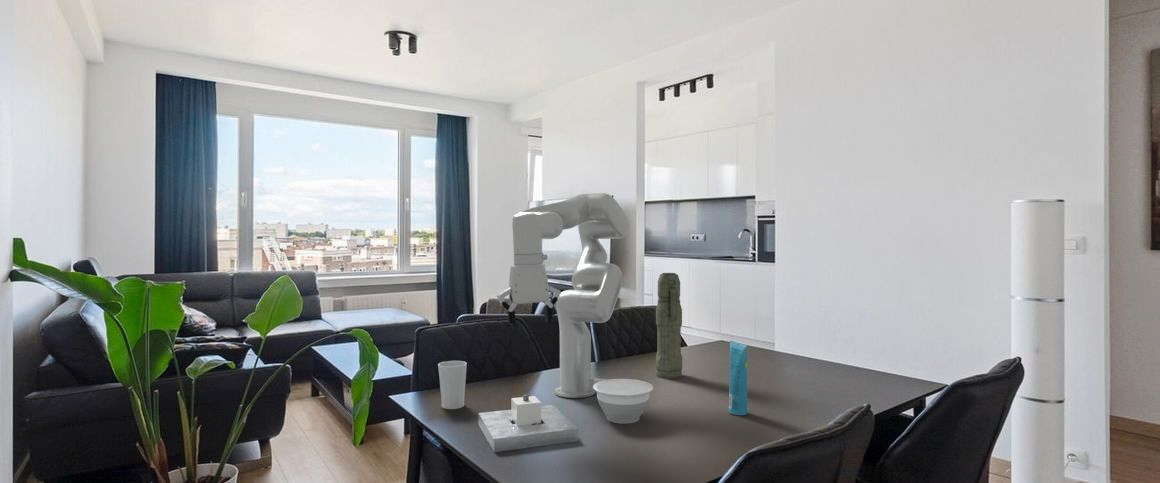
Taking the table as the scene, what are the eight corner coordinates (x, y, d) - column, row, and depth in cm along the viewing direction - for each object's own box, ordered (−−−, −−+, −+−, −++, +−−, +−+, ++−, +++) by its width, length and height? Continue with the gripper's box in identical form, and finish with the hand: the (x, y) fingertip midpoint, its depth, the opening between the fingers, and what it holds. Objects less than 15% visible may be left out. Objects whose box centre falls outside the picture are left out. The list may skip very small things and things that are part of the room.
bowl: (583, 413, 161) (583, 382, 161) (635, 406, 167) (635, 376, 167) (609, 431, 146) (609, 397, 146) (664, 423, 153) (664, 390, 152)
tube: (754, 415, 158) (754, 344, 158) (740, 418, 156) (740, 345, 156) (735, 408, 165) (735, 339, 164) (721, 410, 163) (721, 341, 162)
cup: (460, 410, 164) (460, 367, 163) (433, 409, 165) (433, 366, 165) (471, 402, 171) (471, 361, 171) (445, 401, 173) (445, 360, 173)
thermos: (663, 380, 195) (663, 274, 194) (650, 372, 206) (650, 272, 206) (688, 379, 197) (688, 274, 196) (674, 370, 209) (673, 271, 208)
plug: (534, 421, 150) (534, 391, 149) (541, 428, 144) (540, 397, 144) (511, 424, 148) (511, 393, 147) (516, 431, 142) (516, 399, 142)
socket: (553, 416, 159) (552, 402, 158) (577, 441, 140) (577, 425, 140) (478, 424, 152) (478, 410, 152) (494, 452, 133) (493, 435, 133)
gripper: (554, 257, 163) (556, 318, 164) (492, 261, 157) (495, 324, 158) (563, 259, 156) (565, 323, 157) (499, 263, 150) (501, 330, 151)
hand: (530, 323), depth 158 cm, fingers open, 9 cm apart
